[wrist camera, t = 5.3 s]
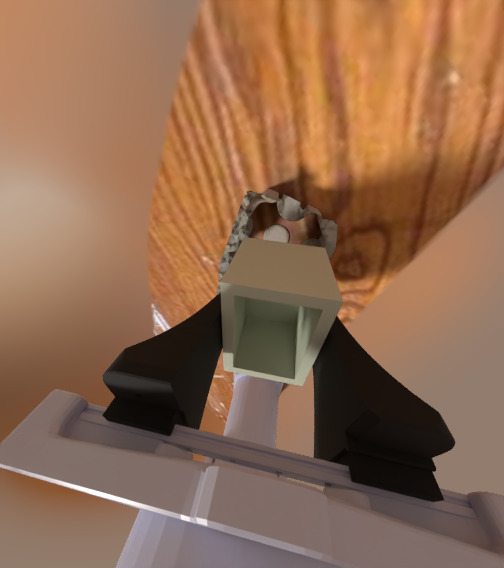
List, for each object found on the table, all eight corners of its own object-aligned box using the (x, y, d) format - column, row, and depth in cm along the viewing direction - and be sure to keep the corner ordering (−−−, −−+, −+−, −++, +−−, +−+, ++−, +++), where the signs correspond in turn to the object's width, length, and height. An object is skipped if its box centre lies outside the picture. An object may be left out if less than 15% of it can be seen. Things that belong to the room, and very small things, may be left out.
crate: (300, 325, 15) (302, 386, 11) (240, 314, 16) (223, 370, 12) (325, 247, 11) (343, 301, 7) (244, 237, 12) (219, 281, 8)
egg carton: (255, 174, 14) (244, 181, 11) (341, 217, 15) (355, 236, 12) (218, 278, 20) (204, 302, 17) (279, 304, 21) (277, 333, 18)
